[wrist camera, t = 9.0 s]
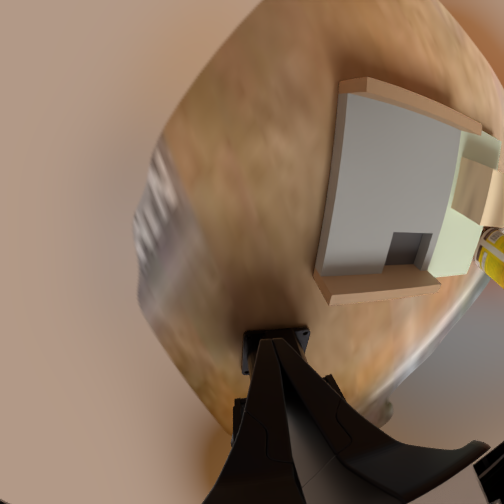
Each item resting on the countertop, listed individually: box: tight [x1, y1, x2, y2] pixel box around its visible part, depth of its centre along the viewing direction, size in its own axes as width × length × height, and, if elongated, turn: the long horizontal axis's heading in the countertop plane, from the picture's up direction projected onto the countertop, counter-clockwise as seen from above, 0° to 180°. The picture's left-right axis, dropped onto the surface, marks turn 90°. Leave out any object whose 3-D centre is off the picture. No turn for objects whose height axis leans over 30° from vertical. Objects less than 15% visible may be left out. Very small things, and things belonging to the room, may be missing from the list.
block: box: [451, 157, 504, 228], centre depth 18 cm, size 7×5×4 cm
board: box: [313, 77, 501, 306], centre depth 19 cm, size 20×16×4 cm
